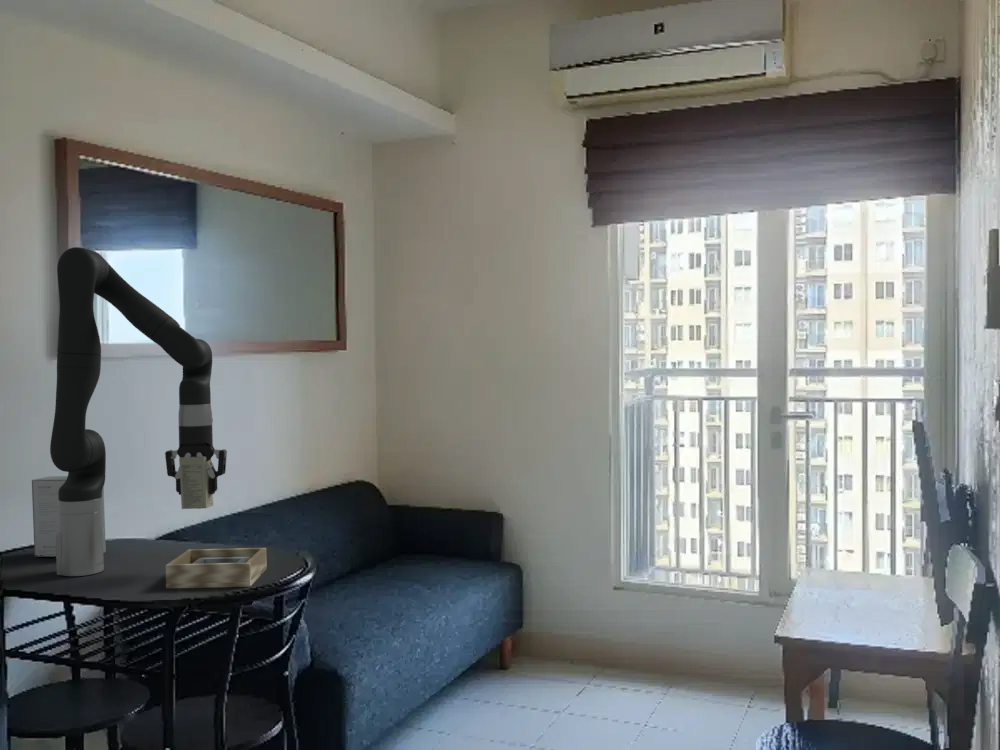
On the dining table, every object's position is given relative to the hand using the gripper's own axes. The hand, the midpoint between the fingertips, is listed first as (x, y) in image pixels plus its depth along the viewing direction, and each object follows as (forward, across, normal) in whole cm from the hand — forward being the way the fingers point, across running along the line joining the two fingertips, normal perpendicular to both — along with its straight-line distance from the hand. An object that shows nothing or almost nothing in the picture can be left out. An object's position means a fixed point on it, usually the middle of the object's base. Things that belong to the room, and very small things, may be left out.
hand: (197, 493), depth 215 cm
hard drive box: (+18, -37, +18) cm, 45 cm away
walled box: (+18, +7, -10) cm, 22 cm away
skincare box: (+4, 0, 0) cm, 4 cm away
